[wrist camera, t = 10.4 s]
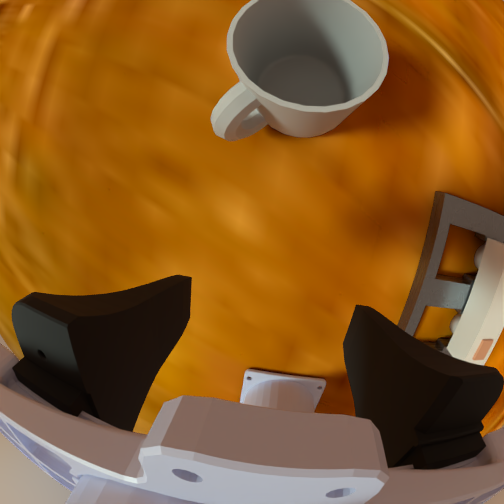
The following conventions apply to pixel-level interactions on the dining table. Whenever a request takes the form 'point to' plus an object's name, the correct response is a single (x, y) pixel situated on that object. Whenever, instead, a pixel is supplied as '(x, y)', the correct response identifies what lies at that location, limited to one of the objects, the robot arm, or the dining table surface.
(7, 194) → the dining table surface
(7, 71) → the dining table surface
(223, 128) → the cup
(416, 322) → the keyhole plate
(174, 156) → the dining table surface
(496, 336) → the power strip
